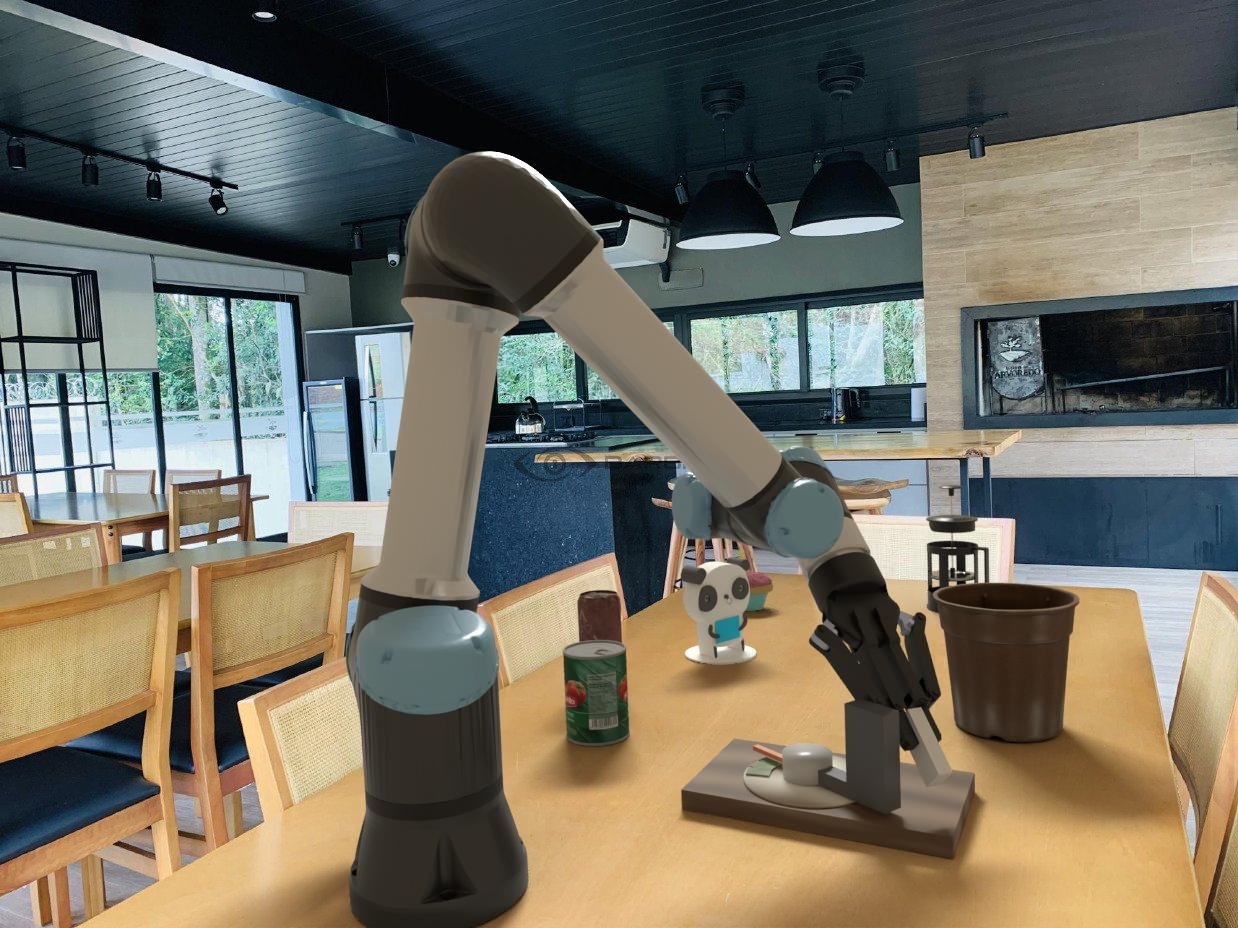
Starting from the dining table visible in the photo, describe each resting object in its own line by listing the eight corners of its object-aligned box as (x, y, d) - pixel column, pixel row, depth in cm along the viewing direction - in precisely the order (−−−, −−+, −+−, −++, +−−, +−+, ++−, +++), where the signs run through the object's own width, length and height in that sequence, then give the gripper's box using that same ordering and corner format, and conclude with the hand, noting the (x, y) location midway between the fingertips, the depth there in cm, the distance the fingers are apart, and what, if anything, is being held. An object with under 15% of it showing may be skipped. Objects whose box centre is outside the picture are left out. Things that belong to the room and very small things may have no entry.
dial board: (953, 859, 81) (952, 831, 81) (681, 808, 93) (680, 784, 93) (974, 791, 94) (974, 767, 94) (734, 755, 107) (734, 734, 106)
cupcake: (725, 612, 176) (723, 550, 175) (733, 602, 184) (731, 543, 184) (770, 613, 174) (768, 550, 173) (776, 603, 182) (774, 543, 181)
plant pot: (907, 715, 117) (905, 589, 116) (1008, 696, 123) (1006, 576, 122) (1002, 760, 102) (1000, 616, 101) (1112, 736, 108) (1111, 599, 107)
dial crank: (738, 758, 99) (735, 673, 99) (772, 746, 102) (769, 664, 101) (874, 819, 84) (872, 719, 83) (910, 804, 87) (908, 707, 86)
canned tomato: (553, 735, 116) (549, 648, 115) (602, 719, 121) (599, 636, 120) (593, 752, 110) (589, 660, 109) (643, 734, 115) (639, 647, 114)
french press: (915, 609, 172) (912, 486, 170) (934, 600, 179) (932, 481, 178) (979, 617, 165) (977, 488, 163) (996, 606, 172) (995, 483, 170)
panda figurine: (714, 670, 140) (711, 572, 139) (667, 655, 149) (663, 563, 148) (771, 654, 147) (768, 561, 146) (722, 641, 156) (719, 553, 155)
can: (621, 696, 129) (616, 597, 128) (577, 695, 131) (572, 597, 130) (629, 683, 135) (625, 588, 134) (587, 682, 137) (582, 588, 136)
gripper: (879, 583, 104) (980, 784, 89) (774, 595, 100) (861, 807, 86) (906, 543, 99) (1018, 750, 84) (796, 554, 95) (893, 773, 80)
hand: (939, 779), depth 85 cm, fingers closed
